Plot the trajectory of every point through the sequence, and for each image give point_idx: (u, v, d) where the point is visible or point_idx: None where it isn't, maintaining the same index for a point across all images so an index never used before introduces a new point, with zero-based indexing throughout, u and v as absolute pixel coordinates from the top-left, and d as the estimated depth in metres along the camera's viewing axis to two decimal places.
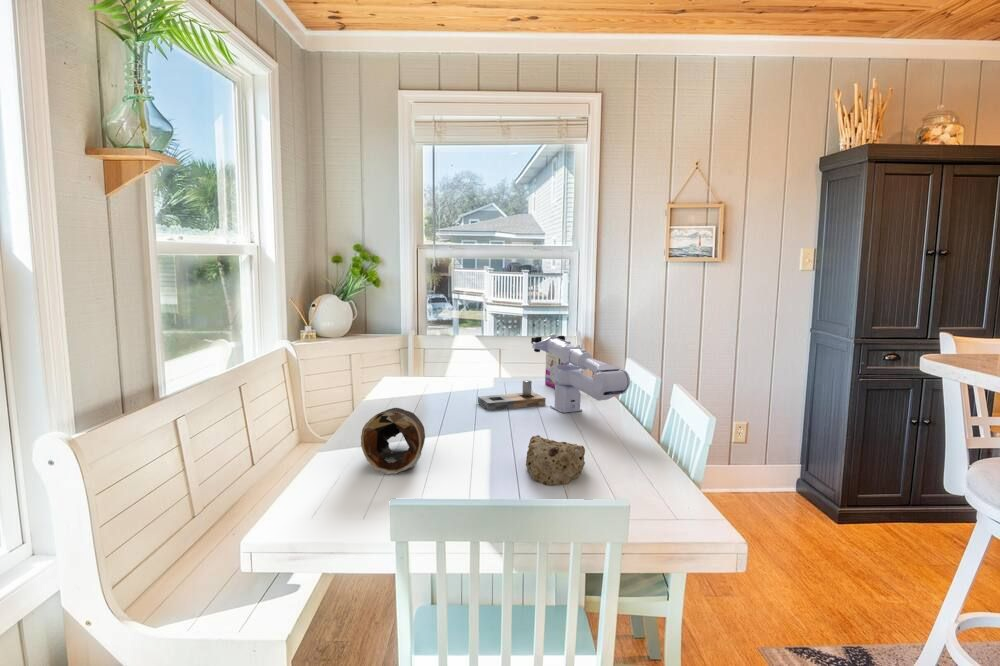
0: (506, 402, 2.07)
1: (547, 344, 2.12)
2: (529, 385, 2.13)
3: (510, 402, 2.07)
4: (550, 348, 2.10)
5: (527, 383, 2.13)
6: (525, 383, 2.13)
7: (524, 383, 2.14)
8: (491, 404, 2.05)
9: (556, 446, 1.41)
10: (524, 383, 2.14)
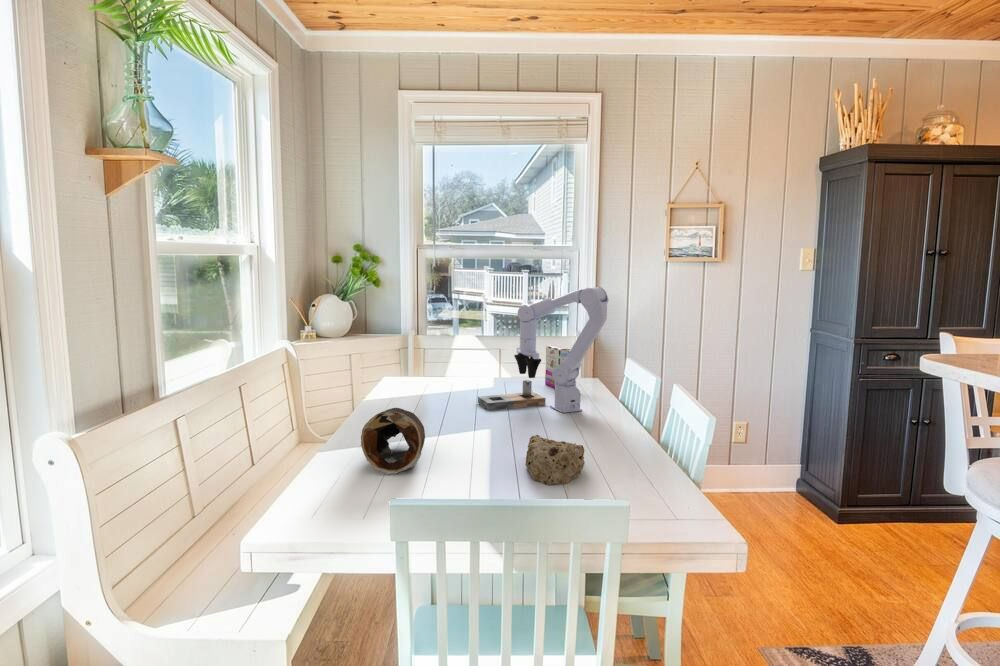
0: (506, 402, 2.07)
1: (529, 349, 2.10)
2: (529, 385, 2.13)
3: (510, 402, 2.07)
4: (531, 341, 2.10)
5: (527, 383, 2.13)
6: (525, 383, 2.13)
7: (524, 383, 2.14)
8: (491, 404, 2.05)
9: (556, 446, 1.41)
10: (524, 383, 2.14)
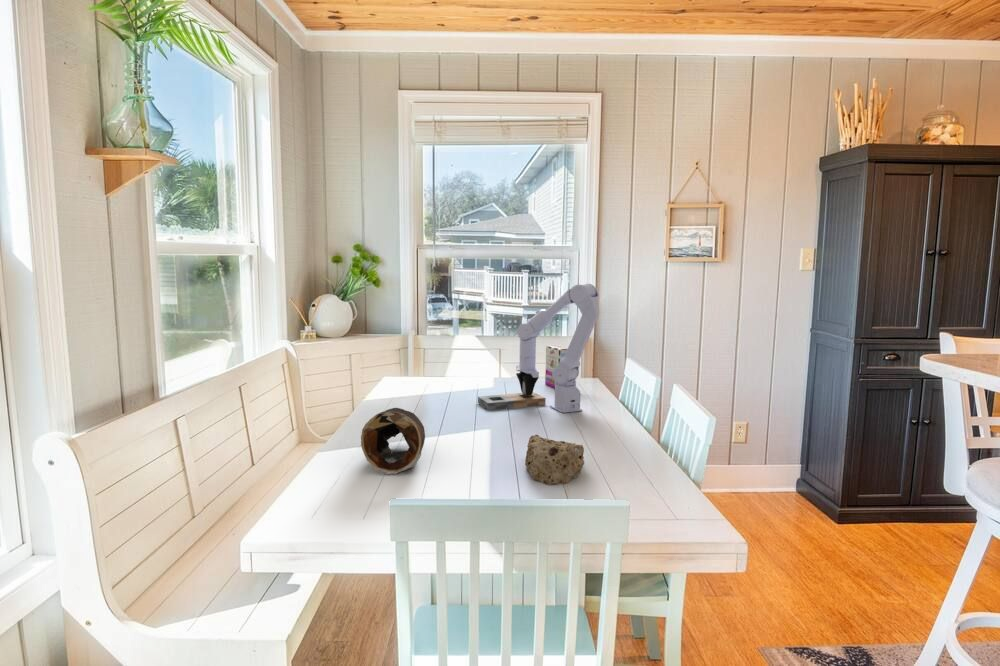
0: (506, 402, 2.07)
1: (529, 367, 2.11)
2: None
3: (510, 402, 2.07)
4: (531, 359, 2.11)
5: None
6: None
7: (524, 383, 2.14)
8: (491, 404, 2.05)
9: (556, 445, 1.41)
10: (524, 383, 2.13)
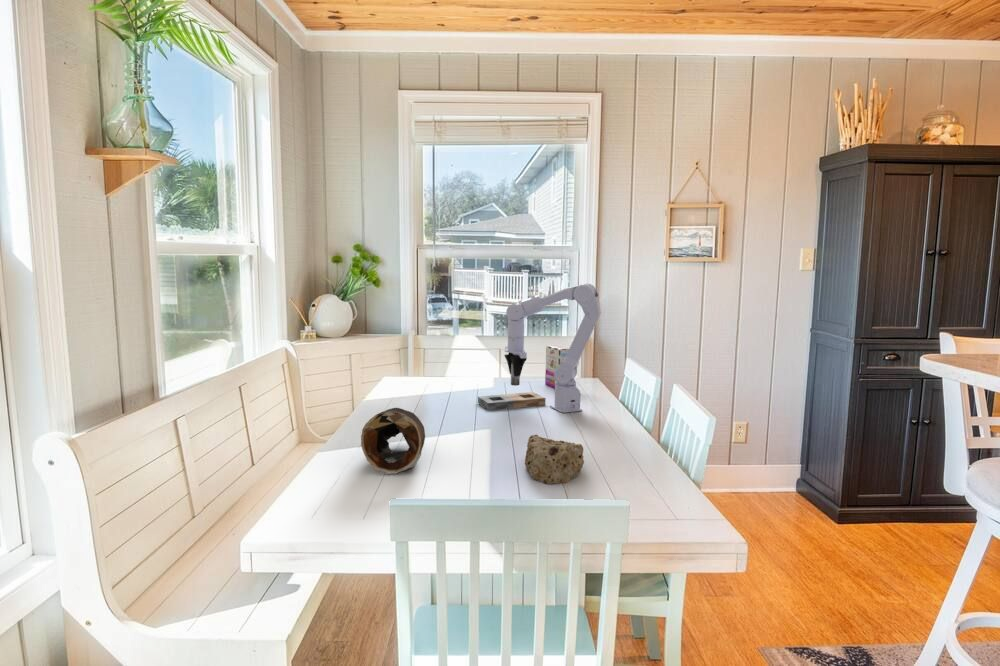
0: (506, 402, 2.07)
1: (517, 348, 2.08)
2: None
3: (510, 402, 2.07)
4: (519, 340, 2.08)
5: None
6: None
7: (512, 364, 2.11)
8: (491, 404, 2.05)
9: (556, 445, 1.41)
10: (512, 364, 2.11)
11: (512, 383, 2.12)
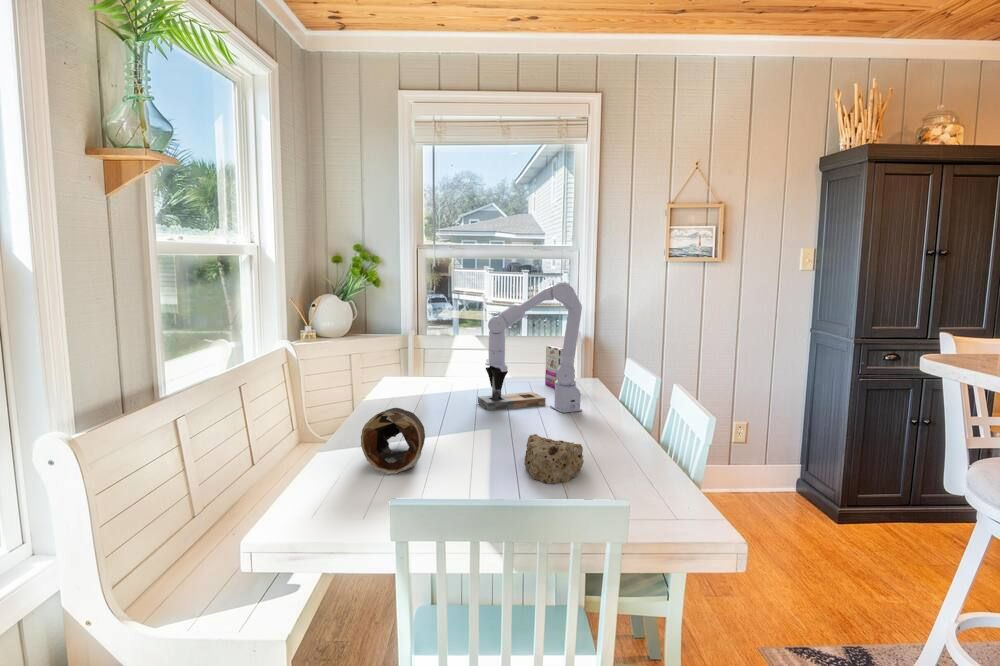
0: (506, 402, 2.07)
1: (497, 361, 2.06)
2: None
3: (510, 402, 2.07)
4: (500, 353, 2.06)
5: None
6: None
7: None
8: (491, 404, 2.05)
9: (555, 445, 1.42)
10: (493, 378, 2.09)
11: (493, 396, 2.09)
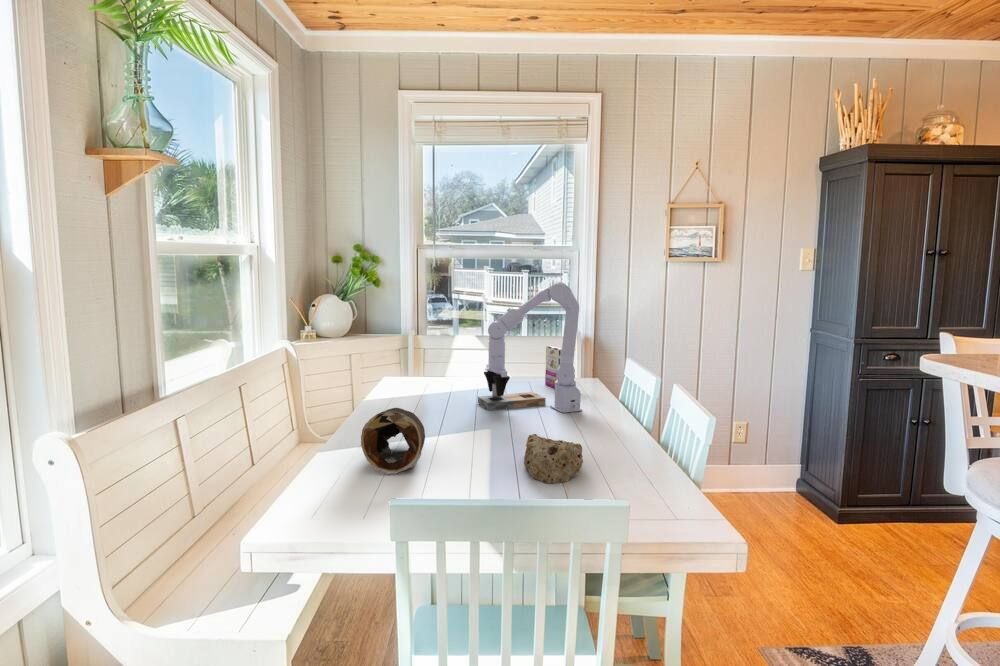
0: (506, 402, 2.07)
1: (497, 366, 2.06)
2: None
3: (510, 402, 2.07)
4: (500, 358, 2.06)
5: None
6: (495, 385, 2.09)
7: (494, 385, 2.09)
8: (491, 404, 2.05)
9: (555, 444, 1.42)
10: (493, 385, 2.09)
11: None
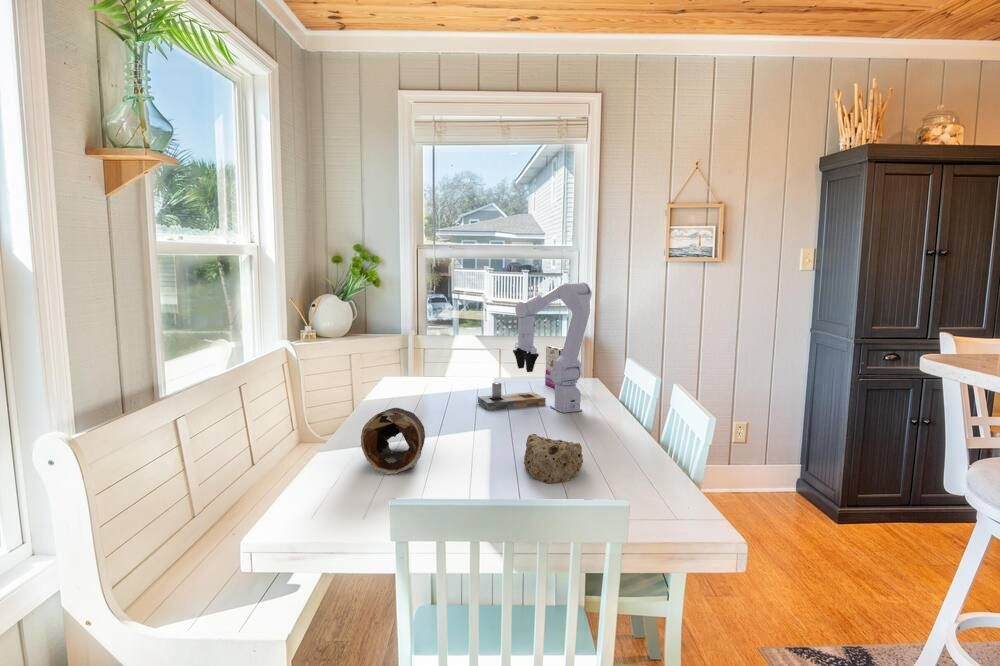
0: (506, 402, 2.07)
1: (527, 344, 2.19)
2: (499, 387, 2.09)
3: (510, 402, 2.07)
4: (529, 336, 2.19)
5: (497, 385, 2.09)
6: (495, 385, 2.09)
7: (494, 385, 2.09)
8: (491, 404, 2.05)
9: (555, 444, 1.42)
10: (493, 385, 2.09)
11: None
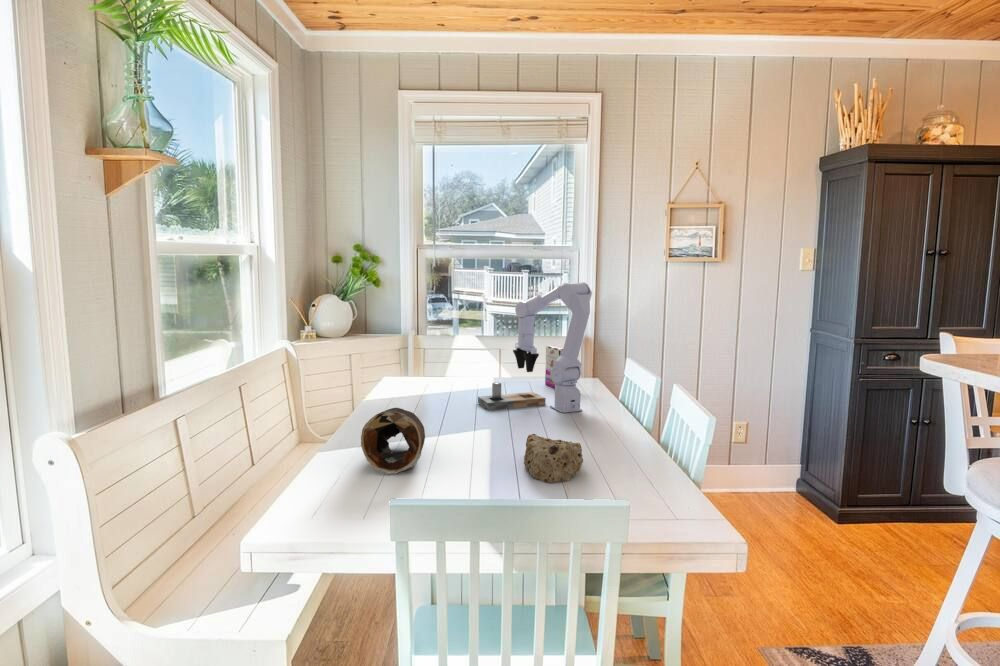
0: (506, 402, 2.07)
1: (527, 344, 2.19)
2: (499, 387, 2.09)
3: (510, 402, 2.07)
4: (529, 336, 2.19)
5: (497, 385, 2.09)
6: (495, 385, 2.09)
7: (494, 385, 2.09)
8: (491, 404, 2.05)
9: (555, 444, 1.42)
10: (493, 385, 2.09)
11: None
